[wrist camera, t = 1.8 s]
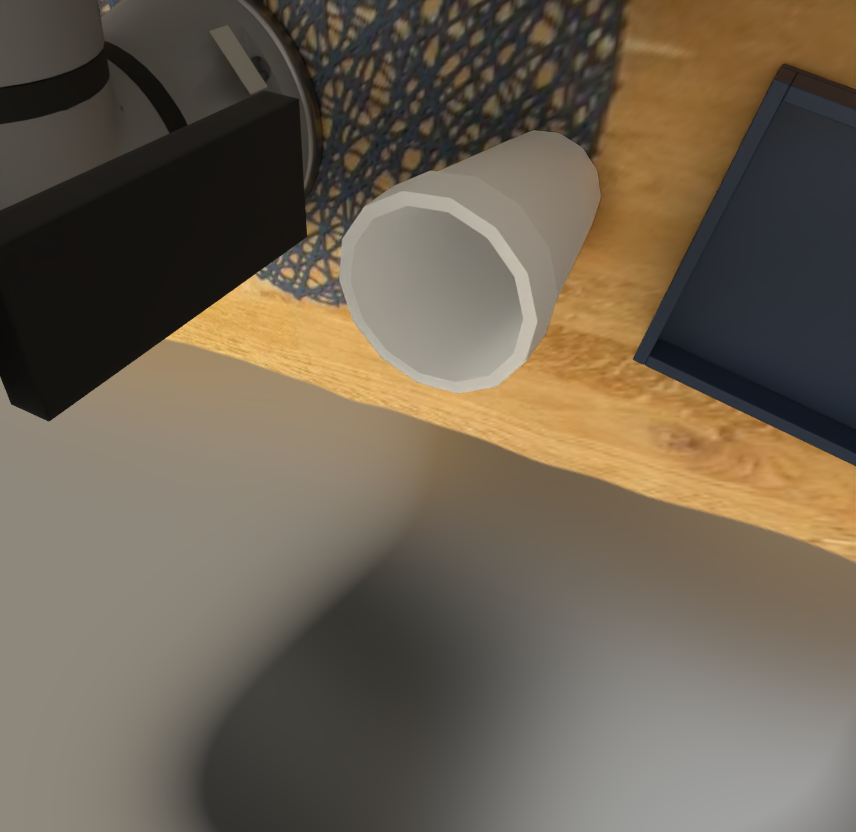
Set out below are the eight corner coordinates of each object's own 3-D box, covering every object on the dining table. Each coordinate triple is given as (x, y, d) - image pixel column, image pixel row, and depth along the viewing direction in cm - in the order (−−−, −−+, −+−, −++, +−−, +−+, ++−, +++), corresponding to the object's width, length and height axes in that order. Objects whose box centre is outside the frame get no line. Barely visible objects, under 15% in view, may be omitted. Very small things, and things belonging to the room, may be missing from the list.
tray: (645, 336, 44) (632, 360, 42) (783, 62, 33) (773, 78, 31) (916, 463, 41) (914, 494, 39) (1168, 204, 30) (1181, 231, 28)
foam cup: (550, 299, 45) (452, 425, 37) (436, 188, 45) (308, 288, 36) (668, 190, 39) (582, 312, 30) (536, 57, 38) (408, 141, 29)
